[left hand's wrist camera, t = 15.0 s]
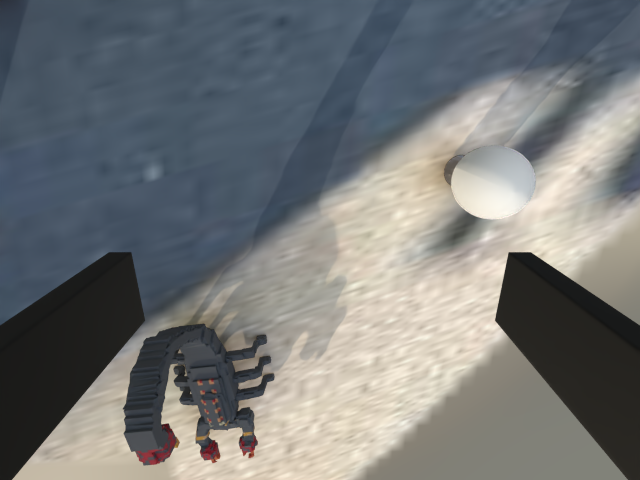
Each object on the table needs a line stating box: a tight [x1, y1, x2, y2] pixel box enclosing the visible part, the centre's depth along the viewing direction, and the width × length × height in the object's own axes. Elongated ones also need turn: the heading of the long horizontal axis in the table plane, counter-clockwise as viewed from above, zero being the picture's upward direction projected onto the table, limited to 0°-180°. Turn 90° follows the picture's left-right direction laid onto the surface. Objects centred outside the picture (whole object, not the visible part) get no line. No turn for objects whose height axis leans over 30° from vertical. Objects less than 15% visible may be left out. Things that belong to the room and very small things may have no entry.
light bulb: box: [444, 145, 536, 219], centre depth 34 cm, size 7×7×11 cm
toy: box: [123, 324, 274, 465], centre depth 40 cm, size 13×27×18 cm, turn 7°
